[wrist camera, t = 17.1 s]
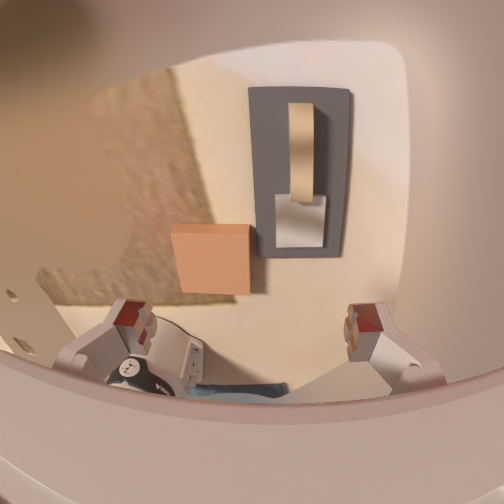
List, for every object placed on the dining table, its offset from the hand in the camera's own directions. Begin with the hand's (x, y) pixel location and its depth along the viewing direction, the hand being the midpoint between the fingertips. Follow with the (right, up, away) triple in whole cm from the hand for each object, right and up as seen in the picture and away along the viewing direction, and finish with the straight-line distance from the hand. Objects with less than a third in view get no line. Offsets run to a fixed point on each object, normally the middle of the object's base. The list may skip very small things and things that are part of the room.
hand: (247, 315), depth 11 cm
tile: (-5, +6, +25) cm, 26 cm away
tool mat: (+6, +11, +22) cm, 25 cm away
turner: (+6, +10, +22) cm, 25 cm away
